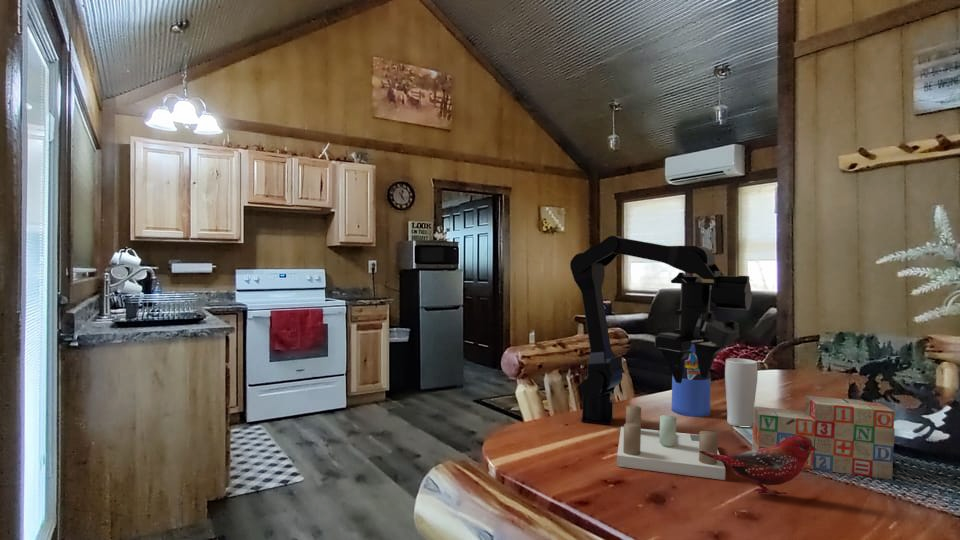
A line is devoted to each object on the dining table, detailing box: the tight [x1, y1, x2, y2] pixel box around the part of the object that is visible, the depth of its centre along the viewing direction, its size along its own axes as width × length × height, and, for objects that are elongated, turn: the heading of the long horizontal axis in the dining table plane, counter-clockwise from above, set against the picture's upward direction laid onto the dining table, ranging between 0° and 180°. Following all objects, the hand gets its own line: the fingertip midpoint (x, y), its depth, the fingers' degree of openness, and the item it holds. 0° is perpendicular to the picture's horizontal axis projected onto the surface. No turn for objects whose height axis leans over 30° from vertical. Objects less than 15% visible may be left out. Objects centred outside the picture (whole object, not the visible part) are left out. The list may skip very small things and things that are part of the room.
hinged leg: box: [658, 414, 677, 446], centre depth 105 cm, size 9×3×5 cm, turn 163°
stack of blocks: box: [751, 395, 896, 480], centre depth 99 cm, size 21×6×12 cm, turn 71°
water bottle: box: [671, 344, 712, 418], centre depth 133 cm, size 9×9×25 cm
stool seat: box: [616, 405, 726, 481], centre depth 102 cm, size 18×18×7 cm
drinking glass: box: [724, 357, 759, 427], centre depth 123 cm, size 7×7×15 cm
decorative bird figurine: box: [699, 435, 817, 496], centre depth 86 cm, size 3×18×10 cm, turn 80°
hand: (691, 380), depth 111 cm, fingers open, 9 cm apart
